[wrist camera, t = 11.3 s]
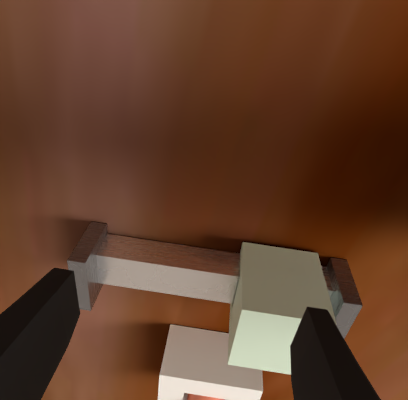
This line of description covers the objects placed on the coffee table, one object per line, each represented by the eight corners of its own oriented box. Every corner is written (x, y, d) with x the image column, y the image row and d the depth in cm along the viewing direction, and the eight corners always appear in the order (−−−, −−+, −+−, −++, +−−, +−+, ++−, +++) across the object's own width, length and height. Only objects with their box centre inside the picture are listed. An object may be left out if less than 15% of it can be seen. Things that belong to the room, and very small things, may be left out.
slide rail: (346, 259, 21) (362, 305, 18) (326, 302, 23) (338, 349, 21) (91, 221, 22) (67, 260, 19) (95, 267, 24) (74, 308, 21)
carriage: (318, 252, 21) (336, 324, 17) (297, 304, 24) (309, 377, 19) (242, 241, 21) (241, 309, 17) (230, 294, 24) (227, 364, 19)
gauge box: (260, 338, 26) (262, 391, 23) (244, 386, 30) (244, 437, 27) (170, 324, 26) (159, 374, 23) (166, 373, 30) (156, 422, 27)
